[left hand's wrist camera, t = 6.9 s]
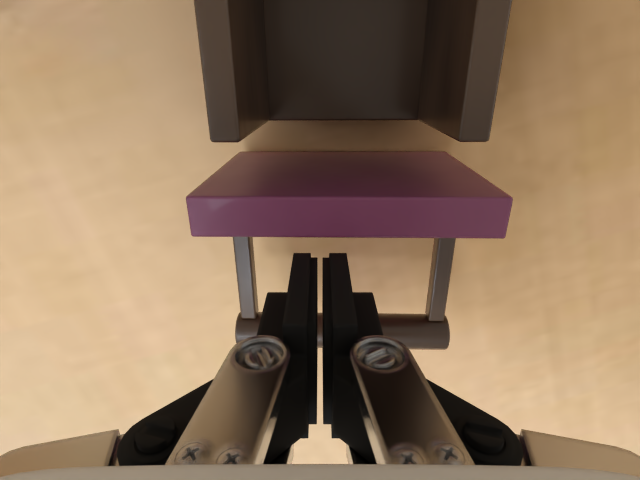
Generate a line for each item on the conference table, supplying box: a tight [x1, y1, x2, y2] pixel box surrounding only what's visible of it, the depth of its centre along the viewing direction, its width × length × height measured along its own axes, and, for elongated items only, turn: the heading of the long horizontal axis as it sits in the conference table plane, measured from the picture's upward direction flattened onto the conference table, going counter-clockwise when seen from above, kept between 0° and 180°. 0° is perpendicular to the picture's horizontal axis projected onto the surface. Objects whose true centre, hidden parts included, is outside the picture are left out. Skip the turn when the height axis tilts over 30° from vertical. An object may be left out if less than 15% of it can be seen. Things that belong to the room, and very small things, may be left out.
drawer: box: [186, 0, 513, 350], centre depth 11 cm, size 24×9×7 cm, turn 0°
